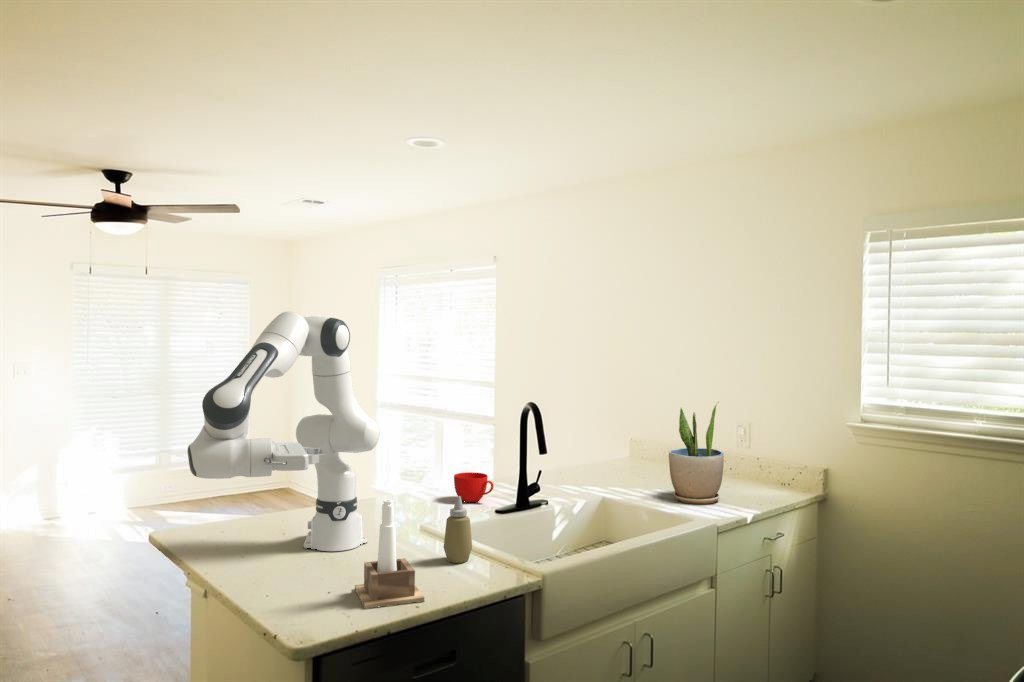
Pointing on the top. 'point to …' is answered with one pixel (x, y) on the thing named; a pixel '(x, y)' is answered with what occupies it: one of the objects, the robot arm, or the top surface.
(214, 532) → the top surface
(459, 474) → the ceramic cup
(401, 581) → the holder
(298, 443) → the robot arm
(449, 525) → the squeeze bottle
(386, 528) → the cosmetic bottle
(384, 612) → the top surface
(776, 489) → the top surface
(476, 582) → the top surface
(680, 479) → the potted plant
